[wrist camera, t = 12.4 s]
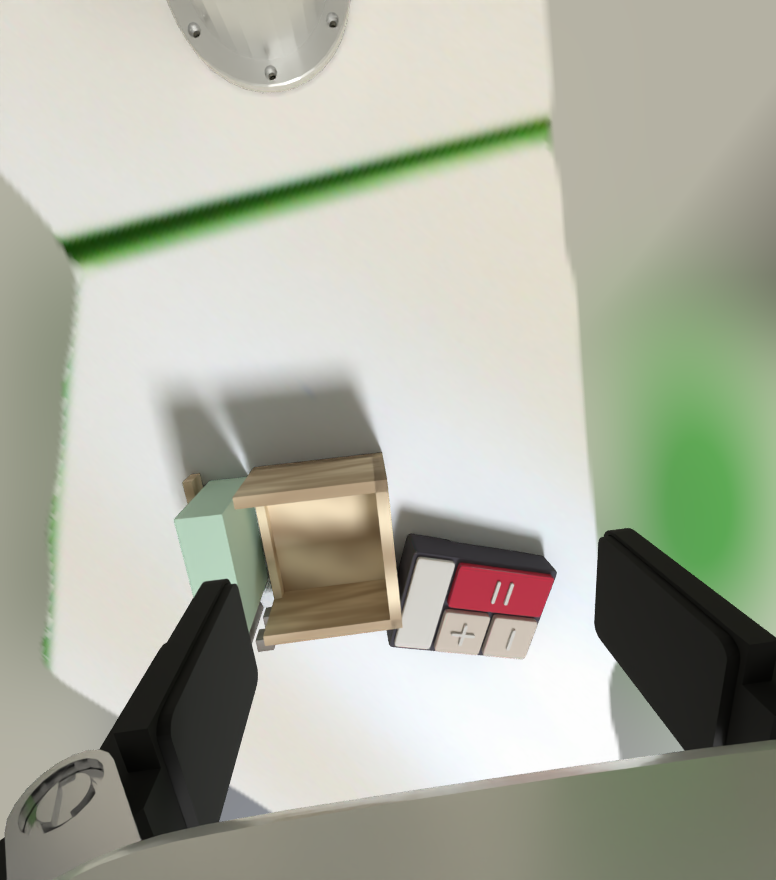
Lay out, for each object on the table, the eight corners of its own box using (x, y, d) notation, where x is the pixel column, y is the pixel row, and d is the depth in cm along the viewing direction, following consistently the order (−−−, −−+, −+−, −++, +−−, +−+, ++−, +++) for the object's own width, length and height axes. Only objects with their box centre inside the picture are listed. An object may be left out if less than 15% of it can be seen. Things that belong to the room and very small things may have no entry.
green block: (209, 480, 39) (173, 519, 31) (248, 476, 39) (222, 514, 31) (233, 585, 42) (205, 644, 34) (269, 581, 42) (249, 639, 35)
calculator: (528, 665, 43) (388, 653, 41) (511, 635, 47) (384, 622, 45) (562, 575, 40) (415, 555, 38) (541, 551, 45) (407, 532, 42)
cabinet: (190, 474, 38) (149, 512, 31) (381, 452, 39) (388, 484, 31) (226, 616, 43) (197, 681, 35) (397, 594, 44) (405, 653, 36)
